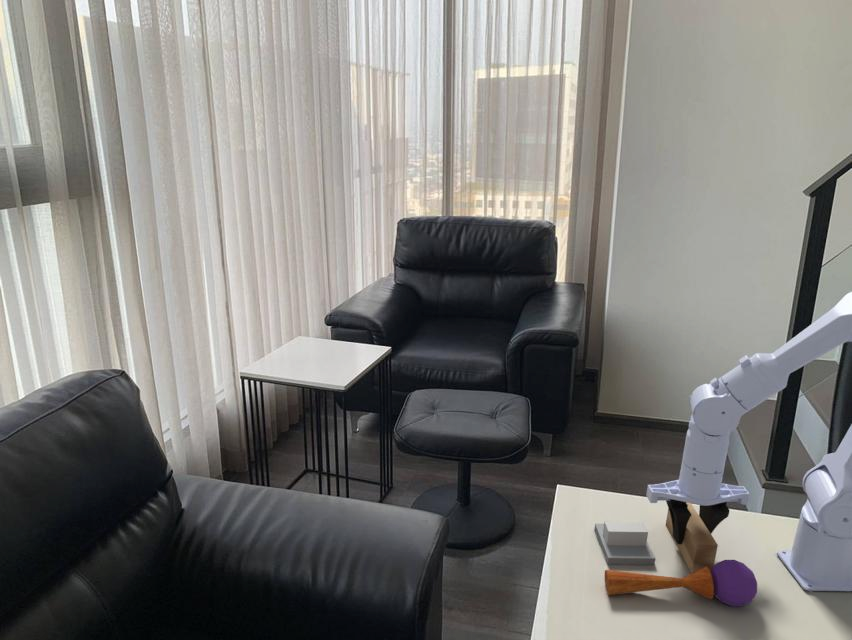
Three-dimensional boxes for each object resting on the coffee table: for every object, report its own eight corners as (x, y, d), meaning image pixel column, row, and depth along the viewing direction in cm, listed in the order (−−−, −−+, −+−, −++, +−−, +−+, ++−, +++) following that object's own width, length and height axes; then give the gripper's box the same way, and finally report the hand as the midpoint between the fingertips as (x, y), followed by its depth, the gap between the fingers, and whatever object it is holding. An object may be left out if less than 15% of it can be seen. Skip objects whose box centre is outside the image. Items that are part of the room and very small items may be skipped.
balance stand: (637, 530, 102) (640, 511, 101) (654, 565, 94) (657, 544, 93) (594, 529, 102) (596, 510, 101) (607, 564, 94) (610, 543, 93)
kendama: (602, 551, 92) (746, 551, 90) (602, 590, 92) (745, 590, 91) (610, 574, 86) (765, 574, 84) (611, 614, 86) (764, 615, 85)
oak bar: (683, 525, 103) (688, 499, 102) (712, 573, 93) (717, 544, 91) (665, 525, 103) (669, 499, 102) (691, 572, 93) (697, 544, 91)
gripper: (739, 450, 97) (724, 524, 102) (645, 448, 97) (634, 522, 102) (762, 475, 90) (745, 554, 95) (660, 474, 90) (648, 552, 95)
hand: (689, 540), depth 98 cm, fingers closed on oak bar, 3 cm apart
